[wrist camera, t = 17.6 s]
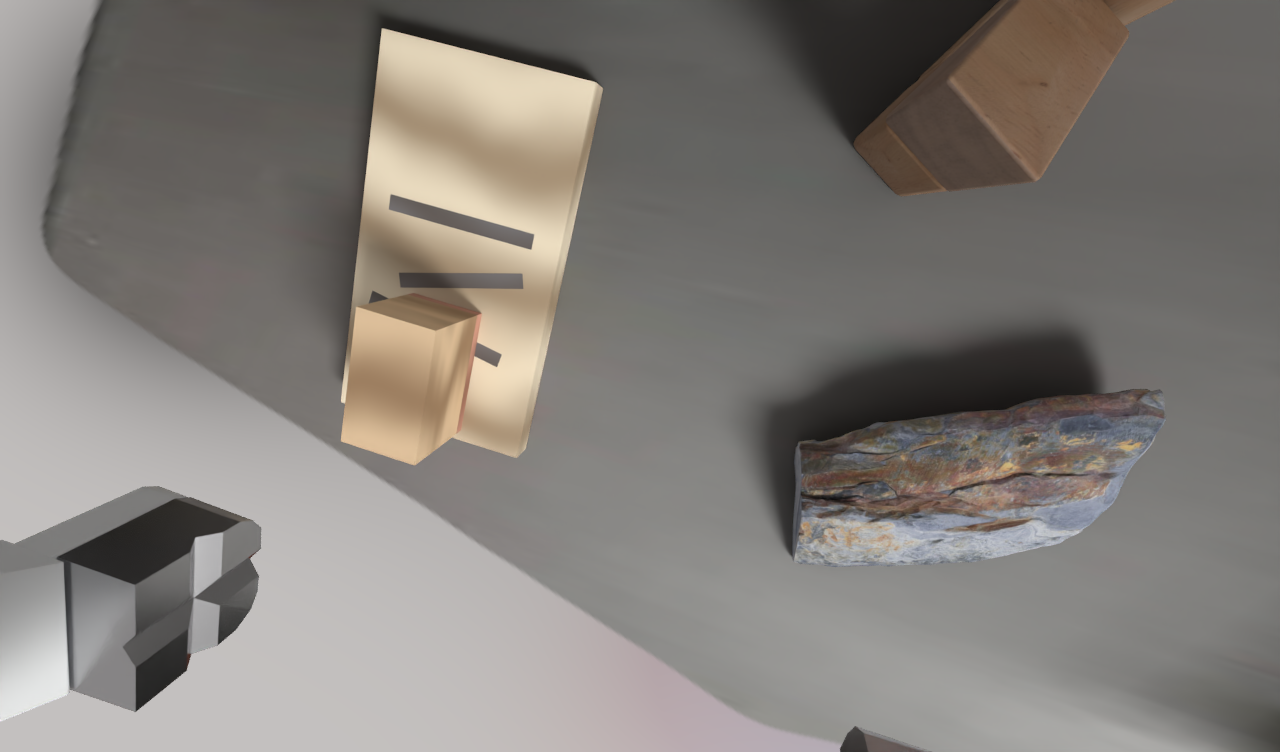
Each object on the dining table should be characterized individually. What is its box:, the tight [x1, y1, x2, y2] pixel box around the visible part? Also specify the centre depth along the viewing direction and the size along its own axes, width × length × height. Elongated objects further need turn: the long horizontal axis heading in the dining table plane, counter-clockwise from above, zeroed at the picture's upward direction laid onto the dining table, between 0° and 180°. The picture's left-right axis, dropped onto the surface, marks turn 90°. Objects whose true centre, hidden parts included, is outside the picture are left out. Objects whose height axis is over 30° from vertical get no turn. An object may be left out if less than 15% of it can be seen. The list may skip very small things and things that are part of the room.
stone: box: [792, 389, 1166, 567], centre depth 30 cm, size 17×5×10 cm
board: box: [341, 28, 603, 458], centre depth 32 cm, size 20×11×2 cm, turn 166°
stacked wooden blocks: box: [854, 0, 1175, 196], centre depth 18 cm, size 4×11×18 cm, turn 135°
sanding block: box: [341, 293, 482, 465], centre depth 31 cm, size 7×4×5 cm, turn 166°
